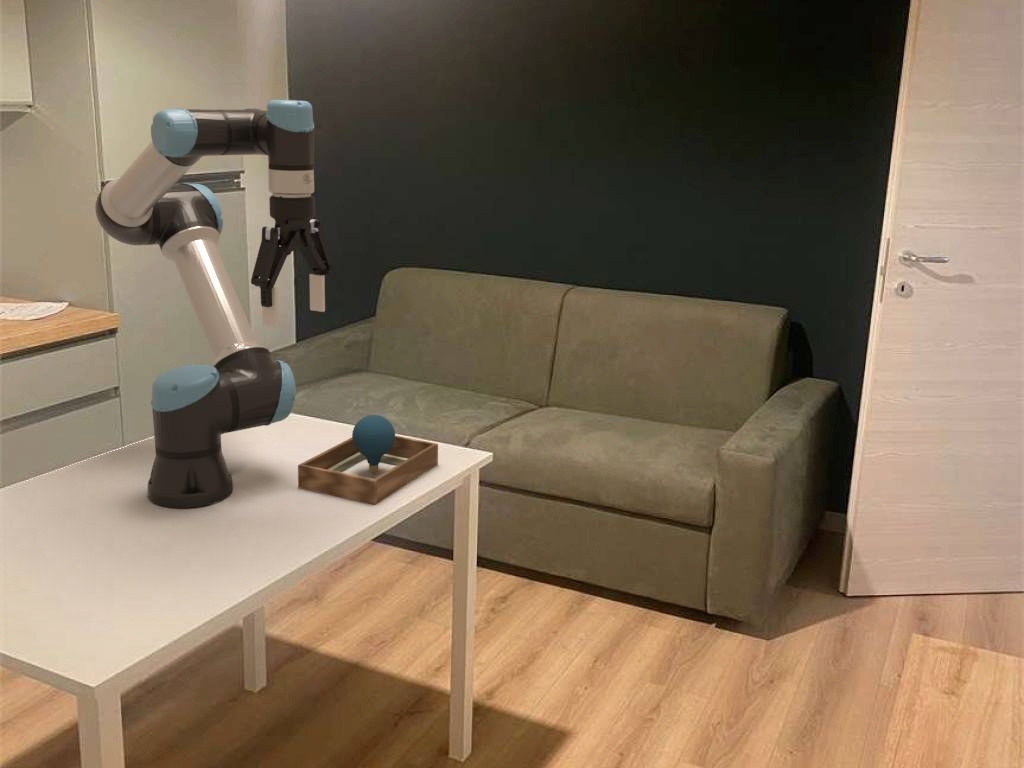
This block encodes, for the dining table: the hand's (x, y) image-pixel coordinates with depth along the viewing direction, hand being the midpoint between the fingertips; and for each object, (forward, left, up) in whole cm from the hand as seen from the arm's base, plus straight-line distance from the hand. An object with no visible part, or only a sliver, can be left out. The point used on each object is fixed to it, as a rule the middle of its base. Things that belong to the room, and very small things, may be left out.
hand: (294, 317), depth 184 cm
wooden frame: (+4, +18, -35) cm, 39 cm away
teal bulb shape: (+4, +19, -35) cm, 40 cm away
